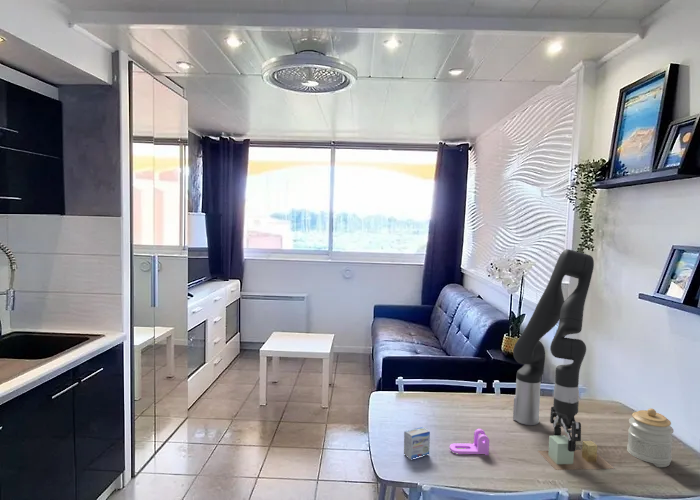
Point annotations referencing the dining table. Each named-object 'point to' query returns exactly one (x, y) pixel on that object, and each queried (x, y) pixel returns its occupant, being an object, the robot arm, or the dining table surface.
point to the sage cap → (560, 450)
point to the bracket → (473, 445)
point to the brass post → (589, 451)
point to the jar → (650, 437)
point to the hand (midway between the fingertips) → (564, 444)
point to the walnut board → (578, 462)
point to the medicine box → (416, 442)
